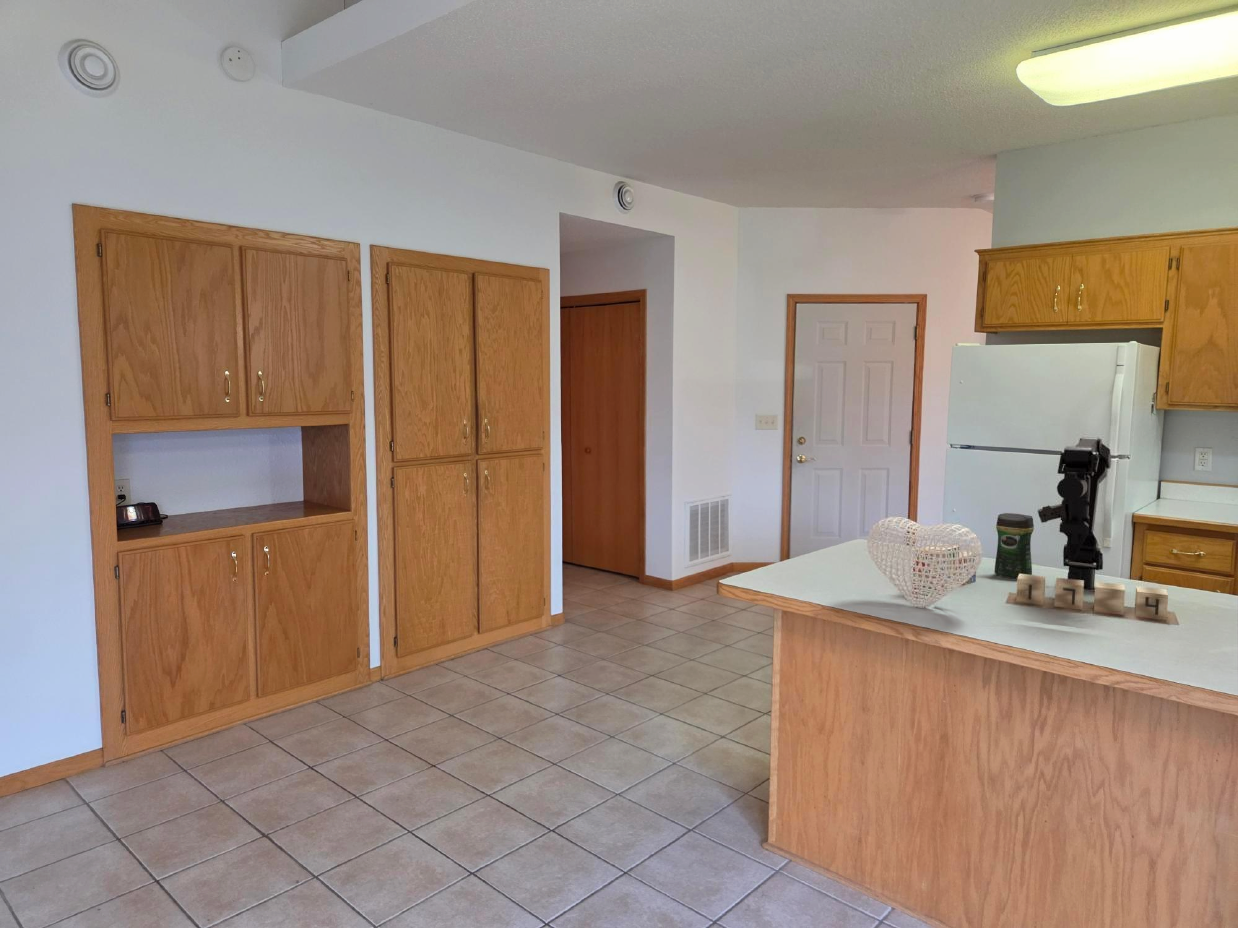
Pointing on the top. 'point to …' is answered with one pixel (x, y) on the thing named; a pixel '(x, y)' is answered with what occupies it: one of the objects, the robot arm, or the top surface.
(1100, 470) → the robot arm
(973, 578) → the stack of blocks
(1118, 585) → the plain block
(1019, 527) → the coffee jar
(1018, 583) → the block one
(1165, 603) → the block four
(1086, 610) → the walnut mat
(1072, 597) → the block seven
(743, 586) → the top surface
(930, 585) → the heart
